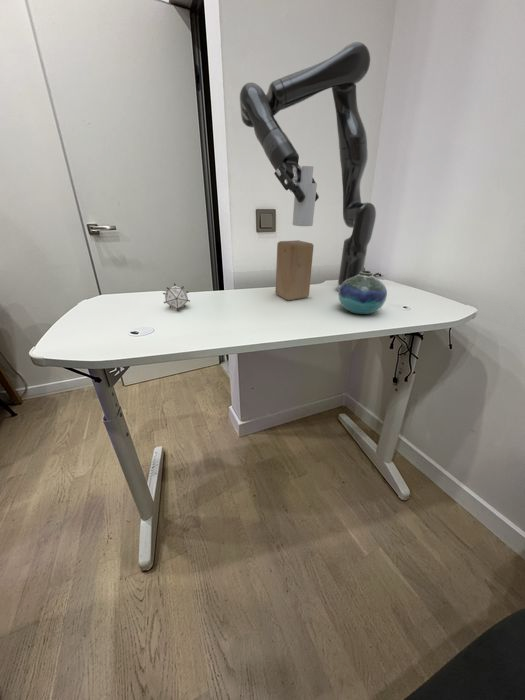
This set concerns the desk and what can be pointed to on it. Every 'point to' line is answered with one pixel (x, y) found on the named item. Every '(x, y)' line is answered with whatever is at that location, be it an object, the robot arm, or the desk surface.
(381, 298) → the vase
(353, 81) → the robot arm
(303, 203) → the flask
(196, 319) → the desk surface
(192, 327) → the desk surface
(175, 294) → the grey spiked polyhedron
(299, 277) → the wooden block
